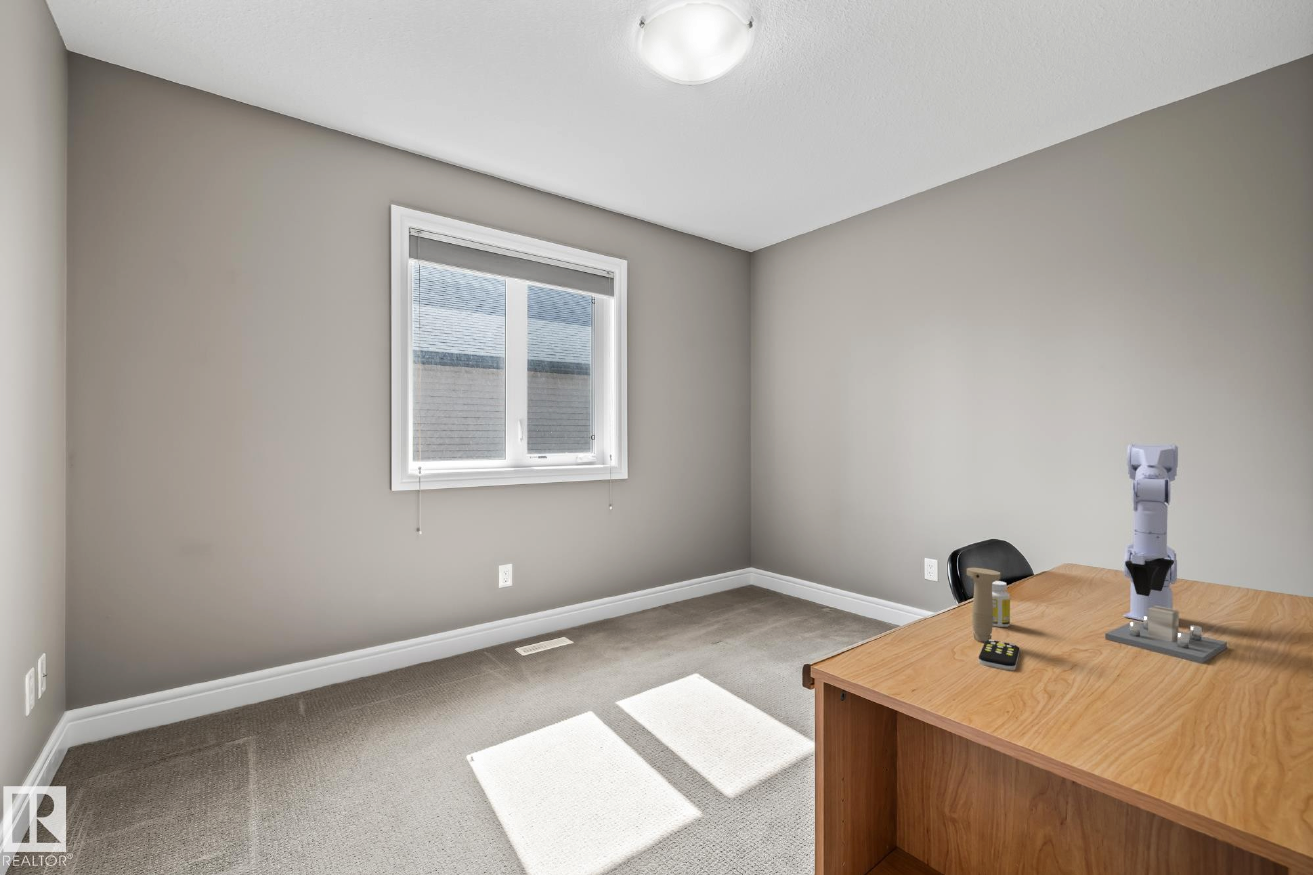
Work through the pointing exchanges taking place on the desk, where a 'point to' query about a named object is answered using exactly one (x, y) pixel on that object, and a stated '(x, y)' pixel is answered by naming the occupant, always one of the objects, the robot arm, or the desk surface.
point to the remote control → (999, 655)
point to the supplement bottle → (1000, 604)
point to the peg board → (1182, 647)
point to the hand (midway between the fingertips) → (1149, 592)
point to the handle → (982, 602)
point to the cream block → (1163, 623)
